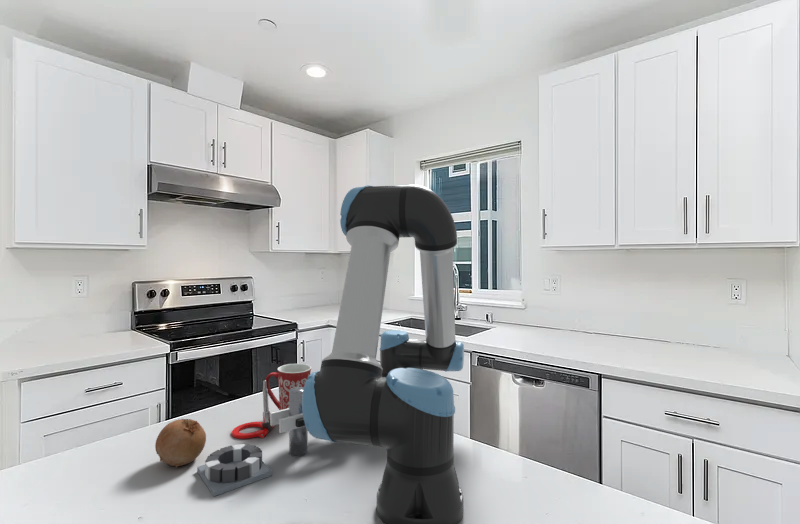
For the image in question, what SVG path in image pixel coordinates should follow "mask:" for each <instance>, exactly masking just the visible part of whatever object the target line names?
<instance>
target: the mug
mask: <svg viewBox="0 0 800 524" xmlns="http://www.w3.org/2000/svg"><path fill="white" fill-rule="evenodd" d="M276 370H277V372H274V371H273V372H270V373H269V374H267V375H266V377H265V380H266V384H267V389H268V397H269V398H270V399H271V401H272V402H273V404H274V405H275V406H276V408H277V409H278V411H279V410H283V409H287V408H289V390H290V389H291V388H294V387H304V385H305V382H306V381H307V380H308V376H309V375H310V374H311V373H312V372H311V370H312V366H311V365H309V364H306V363H287V364H283V365H281V366H278V367H277V369H276ZM271 377H274V378H276V380H277V383H278V399H279V400H278V399H277V397H276V396H275V394H274V392H273V391H272V389H271V387H270V378H271Z"/></svg>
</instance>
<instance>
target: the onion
mask: <svg viewBox="0 0 800 524" xmlns="http://www.w3.org/2000/svg"><path fill="white" fill-rule="evenodd" d="M206 442H207V434H206V431H205V429H204V428H203V427H202V425H201V424H200V423H199V422H198V421H197V420H195V419H191V418H185V419H184V418H181V419H176V420H174V421H171V422H169V423H167V424H166V425H165V426H164V427H163V428H161V431H160V432H159V434H158V436H157V437H156V439H155V445H154V447H155V453H156V455H158V457H159V463H164V464H166V465H168V466H171V467H175V468H178V467H181V466H184V465H187V464H188V465H189V464H190V463H191V462H193V461H195V460H196V459H197V458H199V456H200V455H201V453H203V450H204V448H205V447H206V446H205V445H206Z"/></svg>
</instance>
